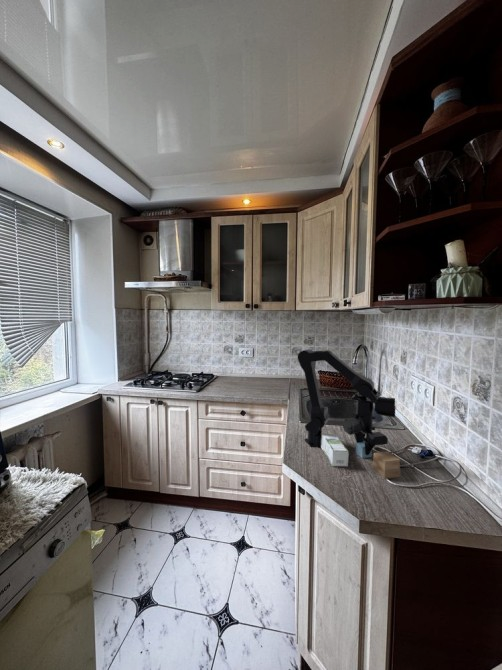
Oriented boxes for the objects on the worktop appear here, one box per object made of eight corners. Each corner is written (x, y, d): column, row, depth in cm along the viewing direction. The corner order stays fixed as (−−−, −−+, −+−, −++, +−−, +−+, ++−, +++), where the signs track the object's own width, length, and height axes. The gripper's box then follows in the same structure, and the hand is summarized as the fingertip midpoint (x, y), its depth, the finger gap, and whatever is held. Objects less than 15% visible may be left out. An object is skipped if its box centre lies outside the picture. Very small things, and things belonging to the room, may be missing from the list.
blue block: (355, 452, 102) (355, 442, 102) (364, 451, 103) (364, 441, 103) (362, 458, 98) (362, 447, 98) (371, 456, 99) (371, 446, 99)
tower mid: (373, 461, 91) (373, 453, 91) (387, 459, 92) (387, 451, 92) (384, 470, 86) (385, 461, 85) (399, 468, 87) (399, 459, 87)
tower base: (372, 469, 91) (372, 461, 91) (387, 467, 93) (387, 459, 92) (384, 479, 85) (384, 470, 85) (400, 477, 87) (400, 468, 87)
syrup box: (348, 467, 92) (334, 447, 107) (349, 450, 92) (334, 433, 107) (332, 466, 92) (320, 447, 107) (332, 450, 92) (321, 433, 106)
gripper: (332, 405, 107) (331, 443, 108) (361, 423, 89) (360, 467, 90) (356, 404, 110) (355, 440, 111) (389, 420, 92) (388, 464, 92)
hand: (363, 452), depth 101 cm, fingers closed on blue block, 4 cm apart
